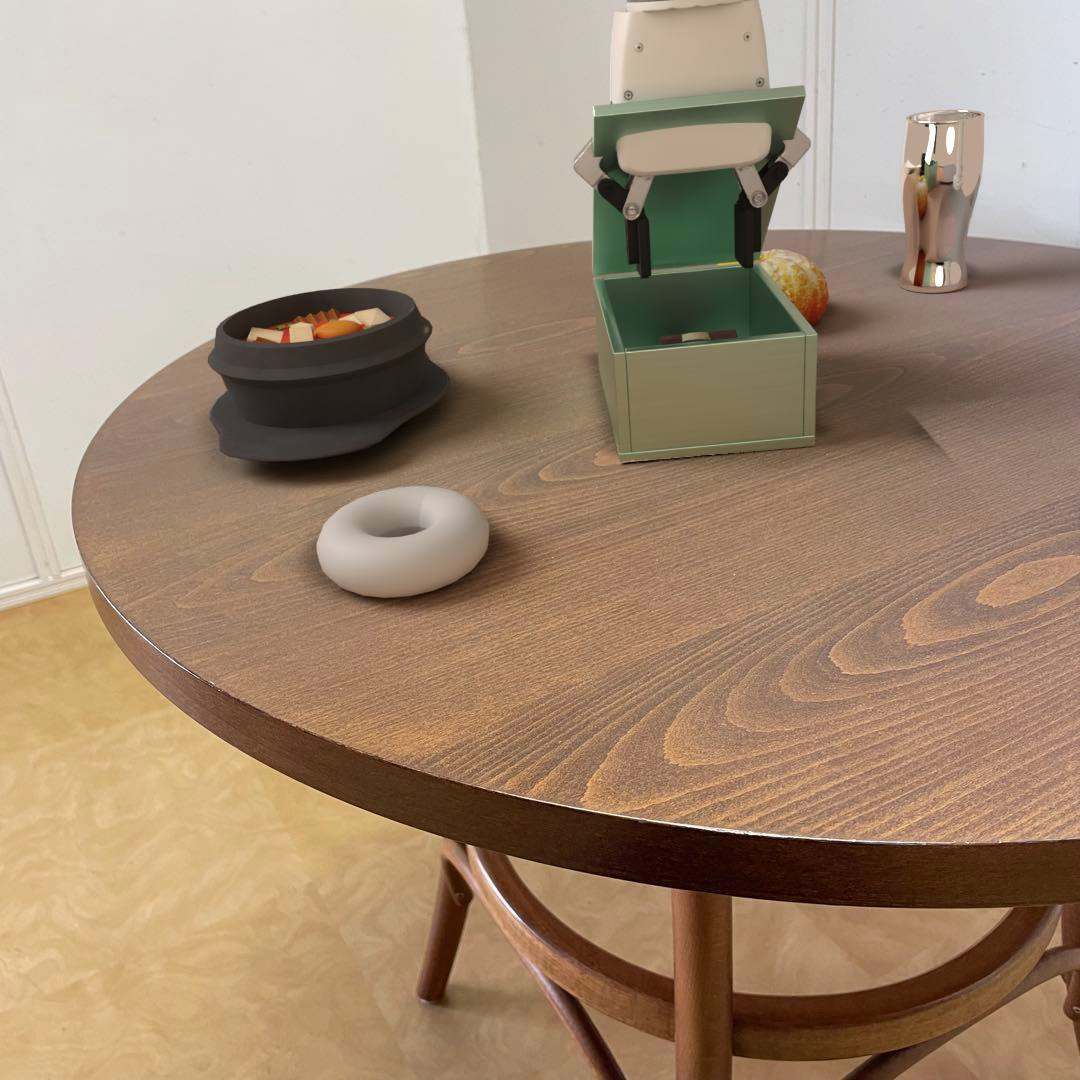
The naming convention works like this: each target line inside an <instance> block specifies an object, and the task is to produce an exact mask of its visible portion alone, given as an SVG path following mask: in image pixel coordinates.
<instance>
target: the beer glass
mask: <svg viewBox="0 0 1080 1080" xmlns="http://www.w3.org/2000/svg"><path fill="white" fill-rule="evenodd" d="M985 116H986V114H985V112H983V111H979V110H974V109H940V110H929V111H922V112H921V111H920V112H917V113H912V114H909V115H907V116H906V117H905V124H904V125H905V126H904V131H903V140H902V147H901V156H900V157H901V158H900V172H899V173H900V175H899V177H900V178H899V179H900V180H899V183H900V184H899V185H900V197H901V207H902V214H903V215H902V216H903V223H904V233H905V251H904V258H903V263H902V267H901V271H900V275H899V279H898V280H899V281H898V284H899V286H900V287H901V289H904V290H906V291H909V292H913V293H921V294H943V293H951V292H956V291H960V290H962V289H964V288H965V287H967V285H968V272H967V264H966V247H967V242H968V241H967V240H968V234H969V230H970V226H971V223H972V218H973V215H974V211H975V208H976V204H977V200H978V196H979V193H980V187H981V181H982V177H983V168H984V156H985V155H984V154H985Z"/></svg>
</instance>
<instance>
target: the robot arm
mask: <svg viewBox="0 0 1080 1080" xmlns="http://www.w3.org/2000/svg"><path fill="white" fill-rule="evenodd" d="M625 3H626V4H625V5H626V6H625V7H626V8H623V9H618V10H614V11H613V12H614V13H613V19H612V26H611V37H610V50H609V51H610V52H609V104H618V103H628V102H639V101H649V100H659V99H669V98H679V97H689V96H699V95H709V94H719V93H730V92H740V91H750V90H760V89H770V88H771V87H770V86H771V85H770V74H769V73H770V72H769V61H768V52H767V51H768V50H767V41H766V33H765V27H764V22H763V16H762V10H761V5H760V1H759V0H626V2H625ZM771 134H772V129H771V127H770V125H769V124H767V123H724V124H708V125H694V126H685V127H676V128H668V129H661V130H654V131H647V132H641V133H636V134H631V135H626V136H623V137H621V138H620V139H619V140H618V142H617V144H616V152H617V157H618V162H619V166H620V168H621V169H622V170H623V171H624V172H626V173H628V174H629V176H628V178H627V180H626V183H625V186H624V188H623V187H622V186H621V185H619V184H618V183H617V182H616V181H615V180H614V179H613V178H612V177H610V176H609V175H608V174H607V173H606V172H604V171H603V170H602V169H601V168H600V166H599V164H600V161H601V159H602V158H603V157H594V155H593V136H591V138H590V139H589V140H588V141H587V143H586V144H585V145H584V146H583V147H582V148H581V150H580V151H578V153H577V154H576V156H574V158H573V160H572V164H571V165H572V168H573V170H574V172H575V173H576V174H577V175H578V176H579V177H580V178H581V179H583V180H584V181H585V182H586V183H587V184H588V185H589V186H590V187H591V188H592V187H593V188H594V189H595V190H596V191H597V192H598V193H599V194H600V195H601V196H602V197H603V198H604V199H606V200H607V201H608V202H609V203H610V204H611V205H612V206H614V207H615V208H616V209H617V210H618V211H619V212H620V213H622V214H623V215H624V217H625V233H626V252H627V261H628V264H629V265H631V264H636V268H637V273H639V276H640V278H641V279H645V278H649V276H651V272H652V270H651V252H650V229H649V220H648V218H647V216H646V215H645V209H644V207H643V205H644V203H645V200H646V197H647V194H648V192H649V189H650V186H651V183H652V181H653V178H654V176H657V175H668V174H678V173H689V172H699V171H709V170H719V169H728V168H730V169H731V171H732V173H733V176H734V178H735V180H736V182H737V184H738V187H739V189H740V191H741V193H740V194H739V200H737V204H734V245H735V259H736V260H737V261H738V262H739V264H740V265H741V266H742V267H744V268H745V269H747V268H753V265H754V252H760V251H761V207H763V206H764V205H765V204H766V202H767V200H768V197H769V196H770V195H771V194H772V193H773V191H774V190H775V189H776V188H777V187H778V186H779V185H780V186H781V184H782V183H783V182H784V180H785V179H786V178H787V177H788V175H789V173H790V171H791V170H792V169H793V168H794V167H795V166H796V165H797V164H798V163H799V162H800V160H802V158H803V157H804V156H805V155H806V153H808V151H809V150H810V148H811V147H812V140H811V139H810V138H809V137H808V136H807V134H806V133H805V132H803V131H802V130H801V129H800V128H799V127H797V128H796V132H795V135H794V139H793V140H784V141H783V142H784V146H783V148H782V149H781V151H779V152H778V153H777V154H776V155H775V156H774V157H773V158H772V159H770V160H769V161H768V162H767V163H766V164H765V165H764V167H763V168H762V169H761V170H760V171H759V172H757V170H756V168H755V166H754V164H755V163H757V162H759V161H761V160H763V159H764V158H765V157H766V156H767V155H768V153H769V151H770V146H771Z"/></svg>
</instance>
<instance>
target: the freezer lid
mask: <svg viewBox="0 0 1080 1080" xmlns="http://www.w3.org/2000/svg"><path fill="white" fill-rule="evenodd" d="M806 96H807V93H806V89H805V85H804V84H801V85H791V86H790V85H789V86H782V87H781V86H780V87H772V88H771V87H770V89H760V90H750V91H740V92H730V93H719V94H709V95H699V96H689V97H679V98H669V99H659V100H649V101H639V102H628V103H618V104H610V103H609V104H599V105H592V137H593V155H594V157H603V158H602V159H601V161H600V164H599V166H600V168H601V169H602V170H603V171H604V172H606V173H607V174H608V175H609V176H610V177H612V178H613V179H614V180H615V181H616V182H617V183H618V184H619V185H621V186H622V187H623V188H624V186H625V183H626V180H627V178H628V176H629V174H628V173H626V172H624V171H623V170H622V169H621V168H620V166H619V162H618V157H617V152H616V144H617V142H618V140H619V139H620V138H621V137H623V136H626V135H631V134H636V133H641V132H647V131H654V130H661V129H668V128H676V127H685V126H694V125H708V124H724V123H767V124H769V125H770V127H771V129H772V134H771V146H770V151H769V153H768V155H767V156H766V157H765V158H764V159H763V160H761V161H759V162H757V163H755V164H754V166H755V168H756V170H757V172H759V171H760V170H761V169H762V168H763V167H764V165H765V164H766V163H767V162H768V161H769V160H770V159H772V158H773V157H774V156H775V155H776V154H777V153H778V152H779V151H781V149H782V148H783V146H784V142H783V141H784V140H793V139H794V135H795V132H796V128H798V125H799V121H800V118H801V114H802V110H803V107H804V103H805V100H806ZM591 188H592V191H591V194H592V197H591V204H592V205H591V206H592V208H591V210H592V211H591V271H592V276H593V277H597V276H607V275H618V274H628V273H638V271H637V268H636V264H631V265H629V264H628V261H627V252H626V233H625V217H624V215H623V214H622V213H620V212H619V211H618V210H617V209H616V208H615V207H614V206H612V205H611V204H610V203H609V202H608V201H607V200H606V199H604V198H603V197H602V196H601V195H600V194H599V193H598V192H597V191H596V190H595V189H594V188H593V187H591ZM780 188H781V184H780V185H779V186H778V187H777V188H776V189H775V190H774V191H773V193H772V194H771V195H770V196H769V197H768V200H767V202H766V204H765V205H764V206H763V207H761V251H763V247H764V243H765V241H766V237H767V233H768V230H769V226H770V222H771V220H772V216H773V212H774V209H775V205H776V202H777V198H778V195H779V192H780ZM740 193H741V191H740V189H739V187H738V184H737V182H736V180H735V178H734V176H733V173H732V171H731V169H730V168H728V169H719V170H709V171H699V172H689V173H678V174H668V175H657V176H654V178H653V181H652V183H651V186H650V189H649V192H648V194H647V197H646V200H645V203H644V205H643V207H644V209H645V215H646V216H647V218H648V220H649V229H650V252H651V271H655V270H656V271H659V270H670V269H680V268H690V267H701V266H711V265H718V264H721V263H731V262H738V261H737V260H736V259H735V245H734V204H737V200H739V194H740ZM761 251H760V252H754V260H759V258H760V254H761Z"/></svg>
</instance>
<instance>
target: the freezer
mask: <svg viewBox="0 0 1080 1080" xmlns="http://www.w3.org/2000/svg"><path fill="white" fill-rule="evenodd" d="M717 265H718V264H717ZM717 265H706V266H696V267H685V268H675V269H665V270H656V271H655V270H654V271H651V276H649V278H645V279H641V278H640V276H639V273H638V272H633V273H623V274H613V275H603V276H593V277H592V282H593V285H592V286H593V298H594V299H593V300H594V313H595V314H594V315H595V328H596V329H595V330H596V343H597V344H596V346H597V357H598V372H599V376H600V380H601V385H602V390H603V394H604V398H605V399H604V400H605V403H606V408H607V411H608V416H609V420H610V425H611V429H612V430H611V431H612V434H613V439H614V438H615V439H614V443H615V448H616V447H617V448H616V451H618V452H617V456H618V455H619V457H618V461H619V460H620V461H619V463H620V462H623V461H631V460H635V461H636V460H645V459H660V458H674V457H686V456H698V455H710V454H723V455H729V454H728V453H734V454H744V453H753V451H755V452H764V451H765V452H766V451H776V450H786V449H787V450H788V449H797V448H807V447H809V448H810V447H815V446H816V422H817V421H816V419H817V417H816V416H817V379H818V377H817V376H818V372H817V371H818V341H819V340H818V339H819V334H818V332H817V331H816V330H815V329H814V327H813V326H811V325H810V324H809V323H808V322H807V320H806V319H805V318H804V317H803V316H802V314H801V313H800V312H799V311H798V310H797V308H796V307H795V306H794V305H793V303H792V302H791V301H790V300H789V299H788V297H787V296H786V295H785V294H784V292H783V291H782V290H781V289H780V288H779V286H778V285H777V284H776V283H775V282H774V280H773V279H772V278H771V277H770V275H769V274H768V273H767V272H766V271H765V269H764V268H763V267H762V266H761V264H760V263H759V262H754V265H753V268H747V269H745V268H744V267H742V266H741V265H740V264H739V263H738V264H728V265H718V266H717ZM733 329H735V330H736V332H737V337H738V338H730V339H719V340H709V341H698V342H688V343H677V344H667V345H660V338H661V337H662V336H670V335H681V334H687V333H695V332H712V331H722V330H733ZM740 452H741V453H740ZM743 452H744V453H743Z"/></svg>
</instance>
